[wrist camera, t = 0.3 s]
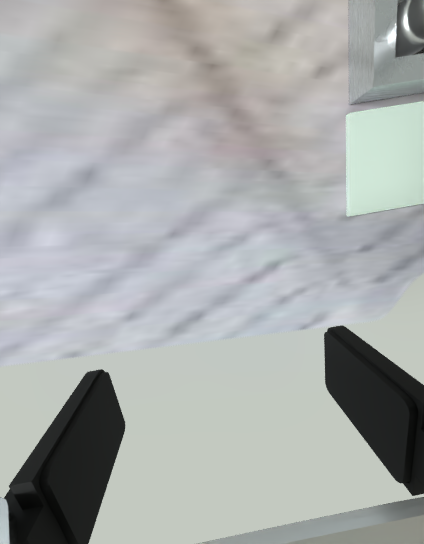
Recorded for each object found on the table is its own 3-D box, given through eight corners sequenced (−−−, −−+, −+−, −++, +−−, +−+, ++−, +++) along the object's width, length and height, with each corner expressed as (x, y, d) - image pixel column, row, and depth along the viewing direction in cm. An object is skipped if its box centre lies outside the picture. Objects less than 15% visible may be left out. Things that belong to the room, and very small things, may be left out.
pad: (345, 115, 36) (350, 112, 35) (440, 100, 36) (446, 97, 35) (346, 216, 40) (350, 216, 39) (431, 201, 40) (436, 201, 39)
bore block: (348, -17, 31) (376, -59, 27) (448, -31, 32) (493, -75, 27) (348, 104, 35) (373, 86, 30) (438, 90, 36) (476, 70, 31)
